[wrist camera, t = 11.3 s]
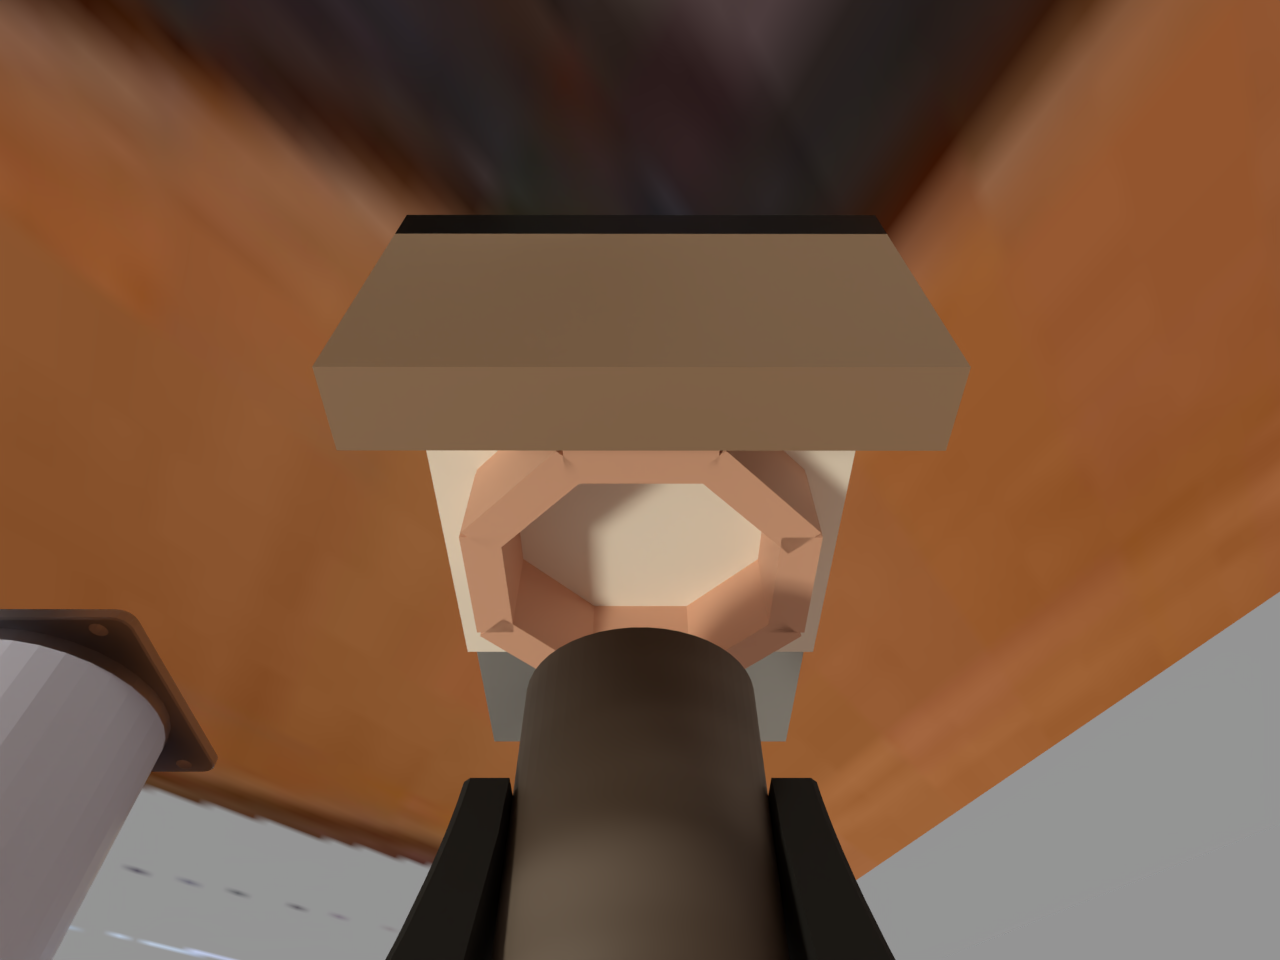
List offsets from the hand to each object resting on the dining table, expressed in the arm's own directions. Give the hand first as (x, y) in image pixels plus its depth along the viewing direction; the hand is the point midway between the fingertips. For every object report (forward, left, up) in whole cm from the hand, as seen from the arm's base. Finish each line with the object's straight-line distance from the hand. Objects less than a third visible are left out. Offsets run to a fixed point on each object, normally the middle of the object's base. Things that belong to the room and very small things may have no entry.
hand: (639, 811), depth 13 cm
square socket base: (0, 0, -8) cm, 8 cm away
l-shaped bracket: (0, -2, -9) cm, 10 cm away
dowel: (0, 0, -2) cm, 2 cm away
